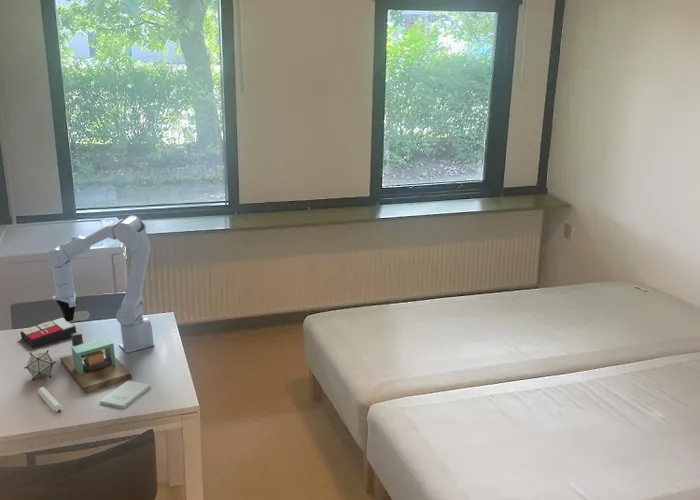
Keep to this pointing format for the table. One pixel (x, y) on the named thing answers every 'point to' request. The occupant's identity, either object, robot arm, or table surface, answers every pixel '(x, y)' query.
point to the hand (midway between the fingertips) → (69, 320)
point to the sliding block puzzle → (48, 332)
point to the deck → (96, 374)
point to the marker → (50, 399)
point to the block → (94, 358)
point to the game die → (40, 365)
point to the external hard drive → (125, 394)
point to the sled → (78, 340)
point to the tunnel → (90, 348)
